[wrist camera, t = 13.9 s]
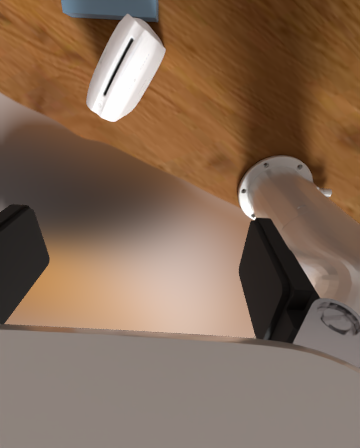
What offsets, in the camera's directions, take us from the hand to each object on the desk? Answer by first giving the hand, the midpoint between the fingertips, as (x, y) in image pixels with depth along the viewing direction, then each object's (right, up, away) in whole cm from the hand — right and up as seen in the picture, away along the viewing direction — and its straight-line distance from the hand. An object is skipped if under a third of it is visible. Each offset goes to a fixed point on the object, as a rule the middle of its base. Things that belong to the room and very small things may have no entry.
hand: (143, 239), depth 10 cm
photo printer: (-4, +22, +22) cm, 32 cm away
